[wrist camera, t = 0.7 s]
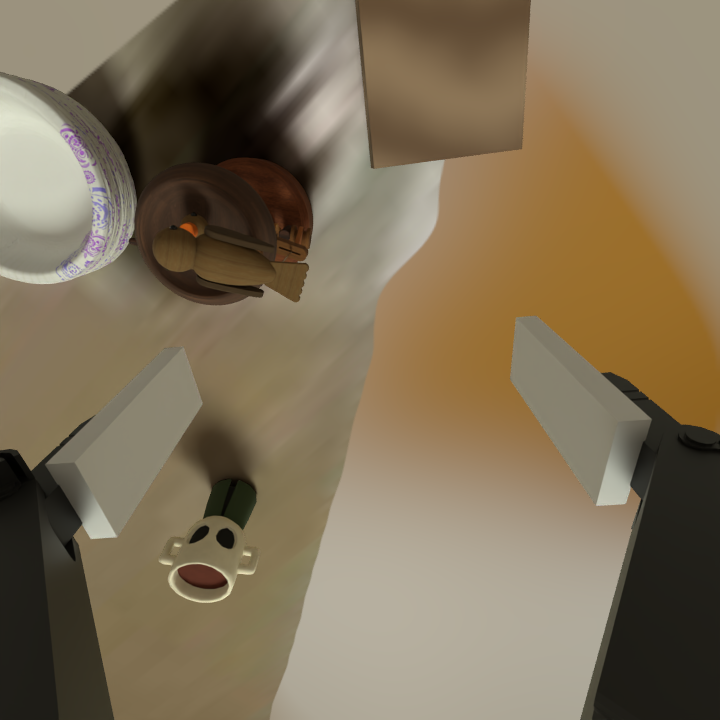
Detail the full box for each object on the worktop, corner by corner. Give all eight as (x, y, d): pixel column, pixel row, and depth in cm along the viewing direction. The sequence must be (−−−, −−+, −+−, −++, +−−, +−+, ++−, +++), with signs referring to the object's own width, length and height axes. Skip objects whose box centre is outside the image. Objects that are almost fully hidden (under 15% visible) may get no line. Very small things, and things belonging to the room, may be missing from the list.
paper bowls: (-44, 82, 33) (-157, 58, 26) (136, 89, 33) (74, 68, 26) (19, 262, 40) (-56, 283, 33) (168, 267, 40) (126, 289, 33)
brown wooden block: (348, -73, 28) (341, -183, 20) (485, -96, 28) (543, -220, 19) (371, 168, 36) (374, 168, 27) (481, 153, 35) (521, 149, 26)
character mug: (276, 479, 53) (252, 568, 41) (272, 516, 56) (248, 608, 44) (195, 468, 52) (147, 555, 40) (195, 506, 55) (150, 597, 43)
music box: (328, 152, 35) (297, 180, 18) (331, 270, 41) (309, 377, 24) (159, 148, 35) (-34, 173, 18) (185, 267, 41) (58, 372, 24)
